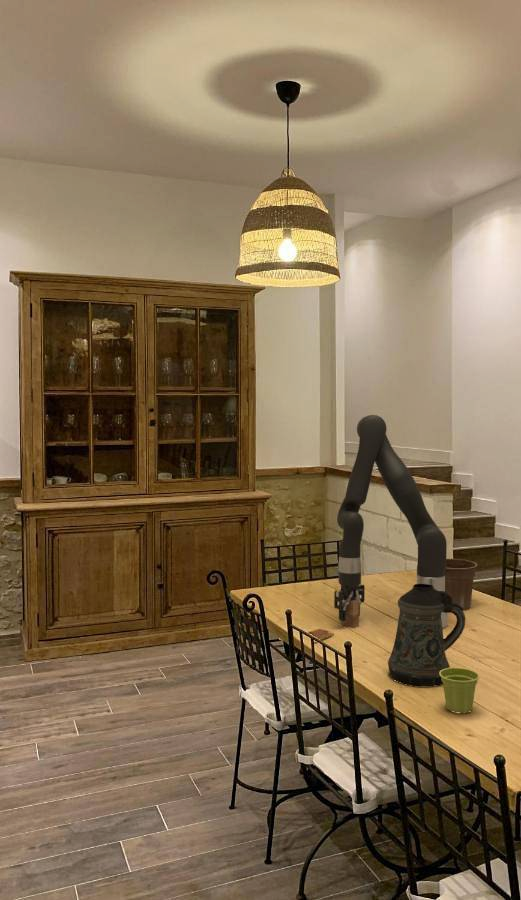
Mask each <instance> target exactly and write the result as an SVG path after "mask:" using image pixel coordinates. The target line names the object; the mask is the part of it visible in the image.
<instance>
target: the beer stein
mask: <svg viewBox="0 0 521 900" xmlns="http://www.w3.org/2000/svg"><path fill="white" fill-rule="evenodd" d="M397 607H398V610H399V613H398V614H399V615H398V620H397V627H396V631H395V632H396V633H395V638H394V641H393V642H394V643H393V647H392V650H391V653H390V656H389V658H388V660H387V666H388V671H389V673H388V675H389V674H390V675H389V677H390V676H391V677H390V678H391V679H393V680H392V681H394V680H396V681H398V682H397V683H399V682H401V683H403V684H402V685H404V684H407V685H406V686H409V685H412V686H411V687H415V686H419V687H418V688H421V687H420V686H433V687H435V686H434V685H439V686H441V685H440V684H442V683H443V682H442V680H441V677H440V675H439V672H440V671H441V670H443V669H446V668H451V666H450V663H449V661H448V658H447V656H446V655H447V654H446V651H447V650H449V649H450V648H451V647H452V646H453V645H454V644H455V643H456V642H457V641H458V639H459V638H460V637H461V636H462V633H463V632H464V629H465V626H466V619H467V618H466V614H465V612H464V611H465V610H464V609H463V608H462V607H461V606H460V605H458V604H457V603H456V602H452V598H451V596H449V594H448V593H447V592H445V591H437V590H436V589H434V587H433V586H432V585H428V584H417V583H416V584H413V586H412V588H411V589H410V590H408V591H407V592H405V593H404V594H403V595H401V596H400V597H399V599H398V600H397ZM442 612H444V613H447V614H453V615H454V616H455V617H456V623H455V625H454V627H453V628H452V630H451V631H450V633H449V634H447V636H446V637H445V638H444V631H443V630H444V628H442V621H441V613H442ZM396 681H395V682H396ZM401 683H400V684H401ZM442 685H443V684H442Z"/></svg>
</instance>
